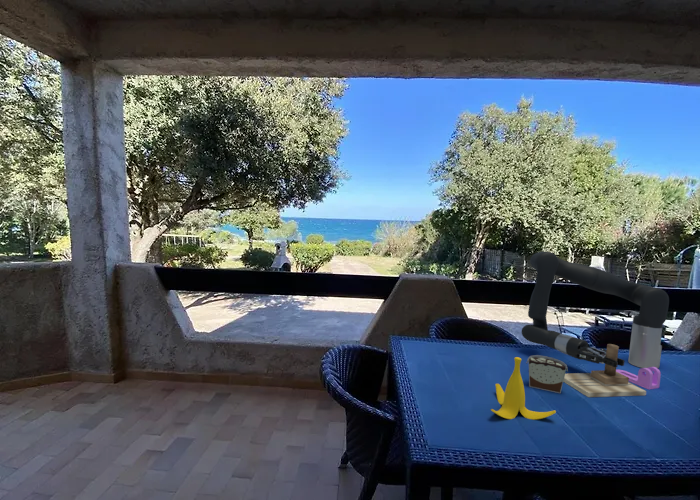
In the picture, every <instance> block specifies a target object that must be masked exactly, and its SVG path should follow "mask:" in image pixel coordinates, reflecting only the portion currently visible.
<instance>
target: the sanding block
mask: <svg viewBox="0 0 700 500" xmlns="http://www.w3.org/2000/svg"><path fill="white" fill-rule="evenodd" d="M619 348H620V346H618V345H616V344H614V343H613V344H612V343H607V345H606V350H607V351H606V357H607V358H610V359H613V360H615V361H617V358H619V356H618V355H619ZM616 370H617V367H613V366H610V365H607V364H605V363H604V369H602V370H601V369H600V370H591V371H590V373H591V378H592V379H593V380H595V381H597V382H599V383H601V384H602V385H604V386H625V385H628V382H630V381H629V378H628V377H626V376H624V375H622V374H620V373H618V372H616Z"/></svg>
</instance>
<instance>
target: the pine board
mask: <svg viewBox="0 0 700 500" xmlns="http://www.w3.org/2000/svg"><path fill="white" fill-rule="evenodd" d="M563 383H565V384H566V385H568V386H569V387H571V388H572V389H575V390H576V391H578V392H579V393H581V394H582V395H584V396H585V397H587V398H607V397H631V396H632V397H635V396H636V397H637V396H646V395H647V390H646V389H643V388H641V387H640V386H638V385H636V384H634V383H632V382H630V381H628V385H625V386H604V385H602V384H601V383H599V382H597V381H595V380H593V379H592V378H591V372H580V373H579V372H577V373H576V372H575V373H574V372H573V373H565V377H564V381H563Z"/></svg>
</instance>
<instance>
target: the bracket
mask: <svg viewBox="0 0 700 500" xmlns="http://www.w3.org/2000/svg"><path fill="white" fill-rule="evenodd" d="M616 372H618V373H620V374H622V375H624V376H626V377H628V378H629V381H628V382H629V383H631V384H633V385H636V386H638V387H640V388H641V387H642V388H644V389H645V390H656V389H659V388H660V383H661V374H662V373H661V370H660V369H659V368H656V367H648V368H640V369H638V372H637V375H636V374H634V373H633V372H632V373H631V372H629V371H627V370H622V369H616Z"/></svg>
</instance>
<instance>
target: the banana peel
mask: <svg viewBox="0 0 700 500" xmlns="http://www.w3.org/2000/svg"><path fill="white" fill-rule="evenodd" d="M513 359H514V360H513V361H514V367H513V371H512V373H511V375H510V377H509V379H508V380H507V384H506V387H505V390H503V387H502V386H501V384H500V383H495V393H496V399H497V402H498V404H499V405H501V407H500V408H499V409H498V410H495V409H493V408H491V409H490V411H491V412H493V414H496V415H497V416H499V417H501V418H504V419H506V420H513V419H515V418H516V417H517V416H518V413H519V412H520V414H521V415H522V417H524V418H525V419H528V420H534V421H535V420H541V419H545V418H548V417H550V416H553V415H554V414H556V413H557V411H556V410H551V411H533V410H530V409H528V408H527V407H526V392H525V386H524V381H523V378H522V377H523V376H522V374H521V362H522V358H521V357H518V356H516V357H513Z"/></svg>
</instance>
